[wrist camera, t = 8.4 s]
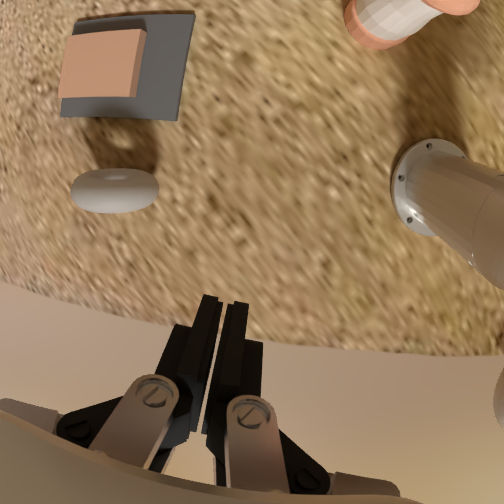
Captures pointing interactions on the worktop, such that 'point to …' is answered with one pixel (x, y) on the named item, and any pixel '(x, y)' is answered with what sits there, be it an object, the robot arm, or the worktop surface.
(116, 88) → the tile
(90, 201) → the donut
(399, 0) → the pepper shaker
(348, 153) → the worktop surface
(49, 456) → the robot arm
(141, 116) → the mat
